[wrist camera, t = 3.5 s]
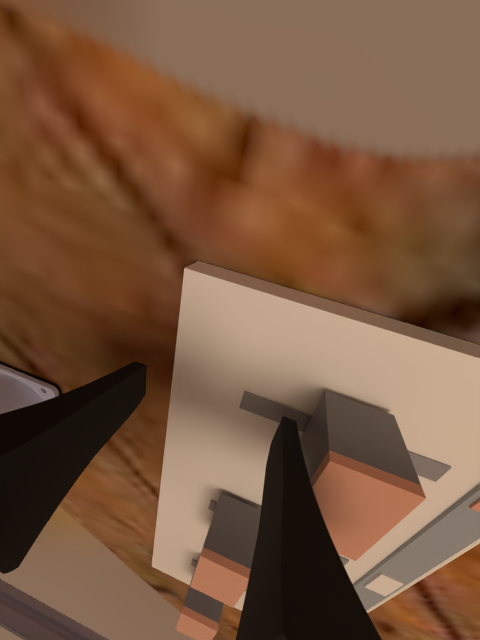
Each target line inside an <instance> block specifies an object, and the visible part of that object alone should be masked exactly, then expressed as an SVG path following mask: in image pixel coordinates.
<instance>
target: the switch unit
mask: <svg viewBox="0 0 480 640" xmlns="http://www.w3.org/2000/svg"><path fill="white" fill-rule="evenodd" d="M325 391H327V392H330V393H332V394H335V395H338V396H341V397H344V398H347V399H349V400H352V401H355V402H358V403H361V404H364V405H367V406H369V407H372V408H375V409H378V410H381V411H384V412H387V413H389V414H392V415H394V416H395V419H396V421H397V424H398V427H399V429H400V432H401V434H402V437H403V439H404V442H405V445H406V447H407V450H408V452H409V455H410V458H411V460H412V463H413V465H414V468H415V471H416V473H417V476H418V478H419V481H420V483H421V486H422V489H423V491H424V494H425V496H426V499H425V500H424V501H423V502H422V503H421V504H419V505H418V506H417V507H416V508H415V509H414V510H413V511H412V512H410V513H409V514H408V515H407V516H406V517H405V518H404V519H402V520H401V521H400V522H399V523H398V524H397V525H396V526H395V527H393V528H392V529H391V530H390V531H389V532H388V533H387V534H386V535H384V536H383V537H382V538H381V539H380V540H379V541H378V542H377V543H375V544H374V545H373V546H372V547H371V548H370V549H369V550H368V551H366V552H365V553H364V554H363V555H362V556H361V557H360V558H359V559H357V560H356V561H354V560H352V559H350V558H347V557H345V556H343V555H340V554H339V556H340V558H341V561H342V563H343V565H344V567H345V569H346V571H347V574H348V576H349V578H350V580H351V582H352V584H353V586H354V588H355V590H356V592H357V594H358V596H359V598H360V600H361V602H362V604H363V606H364V608H365V610H366V612H367V613H369V612H370V611H372V610H373V609H375V608H377V607H378V606H380V605H381V604H383V603H385V602H386V601H388V600H389V599H391V598H393V597H394V596H396V595H397V594H399V593H401V592H402V591H404V590H405V589H407V588H409V587H410V586H412V585H413V584H415V583H417V582H418V581H420V580H421V579H423V578H425V577H426V576H428V575H429V574H431V573H433V572H434V571H436V570H437V569H439V568H441V567H442V566H444V565H445V564H447V563H449V562H450V561H452V560H453V559H455V558H457V557H458V556H460V555H462V554H463V553H465V552H466V551H468V550H470V549H471V548H473V547H474V546H476V545H478V544H479V543H480V345H478V344H475V343H471V342H468V341H465V340H461V339H458V338H455V337H451V336H448V335H445V334H441V333H438V332H435V331H431V330H428V329H425V328H421V327H418V326H415V325H411V324H408V323H404V322H401V321H398V320H394V319H391V318H388V317H384V316H381V315H378V314H374V313H371V312H368V311H364V310H361V309H358V308H354V307H351V306H348V305H344V304H341V303H338V302H334V301H331V300H328V299H324V298H321V297H318V296H314V295H311V294H308V293H304V292H301V291H298V290H294V289H291V288H288V287H284V286H281V285H278V284H274V283H271V282H268V281H264V280H261V279H258V278H254V277H251V276H248V275H244V274H241V273H238V272H234V271H231V270H227V269H224V268H221V267H217V266H214V265H211V264H207V263H204V262H201V261H197V262H195V263H193V264H192V265H190V266H188V267H186V268H184V277H183V286H182V295H181V305H180V314H179V323H178V332H177V341H176V350H175V359H174V368H173V377H172V386H171V395H170V405H169V414H168V423H167V432H166V441H165V450H164V459H163V468H162V477H161V486H160V495H159V504H158V514H157V523H156V532H155V541H154V550H153V559H152V567H154V568H156V569H158V570H160V571H162V572H164V573H166V574H168V575H170V576H172V577H174V578H176V579H178V580H180V581H182V582H184V583H186V584H188V585H190V582H191V579H192V576H193V573H194V570H195V567H196V564H197V561H198V558H199V557H200V554H201V551H202V548H203V544H204V541H205V538H206V535H207V532H208V529H209V526H210V523H211V520H212V517H213V514H214V511H215V508H216V505H217V502H218V499H219V496H220V493H223V494H225V495H227V496H230V497H232V498H234V499H237V500H239V501H241V502H244V503H246V504H248V505H250V506H253V507H255V508H257V509H260V510H261V505H262V496H263V487H264V478H265V470H266V463H267V459H268V454H269V449H270V445H271V442H272V440H273V437H274V435H275V433H276V430H277V428H278V426H279V424H280V421H281V419H282V417H283V416H284V417H287V418H290V419H292V420H295V421H296V422H297V427H298V433H299V438H301V436H302V434H303V432H304V430H305V428H306V427H307V425H308V423H309V421H310V419H311V417H312V415H313V413H314V411H315V409H316V408H317V406H318V404H319V402H320V400H321V398H322V396H323V394H324V392H325ZM246 590H247V588H246ZM246 590H245V591H244V593H243V594H242V596H241V597H240V599H239V600H238V602H237V603H236V605H235V606H234V607H235V608H237V609H239V610H241V611H242V609H243V604H244V599H245V595H246Z"/></svg>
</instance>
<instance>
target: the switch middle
mask: <svg viewBox="0 0 480 640" xmlns="http://www.w3.org/2000/svg"><path fill="white" fill-rule="evenodd" d="M260 513H261V510H260V509H257V508H255V507H253V506H250V505H248V504H246V503H244V502H241V501H239V500H237V499H234V498H232V497H230V496H227V495H225V494H223V493H220V496H219V499H218V502H217V505H216V508H215V511H214V514H213V517H212V520H211V523H210V526H209V529H208V532H207V535H206V538H205V541H204V544H203V548H202V551H201V554H200V557H199V560H198V563H197V566H196V570H195V573H194V576H193V579H192V582H191V585H190V587H192V588H194V589H196V590H198V591H200V592H202V593H204V594H206V595H208V596H210V597H212V598H214V599H216V600H218V601H220V602H222V603H224V604H226V605H228V606H230V607H232V608H234V606H235V605H236V603H237V602H238V600H239V599H240V597H241V596H242V594H243V593H244V591H245V590H246V588H247V585H248V580H249V575H250V570H251V565H252V560H253V555H254V550H255V545H256V540H257V535H258V529H259V522H260Z"/></svg>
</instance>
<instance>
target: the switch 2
mask: <svg viewBox="0 0 480 640" xmlns="http://www.w3.org/2000/svg"><path fill="white" fill-rule="evenodd" d="M300 443H301V447H302V452H303V456H304V460H305V464H306V467H307V471H308V474H309V478H310V481H311V484H312V487H313V491H314V494H315V497H316V500H317V502H318V505H319V508H320V511H321V513H322V516H323V519H324V521H325V524H326V526H327V529H328V531H329V534H330V536H331V538H332V541H333V543H334V545H335V548H336V550H337V552H338V554H340V555H343V556H345V557H347V558H350V559H352V560H354V561H356V560H357V559H359V558H360V557H361V556H362V555H363V554H364V553H365V552H366V551H368V550H369V549H370V548H371V547H372V546H373V545H374V544H375V543H377V542H378V541H379V540H380V539H381V538H382V537H383V536H384V535H386V534H387V533H388V532H389V531H390V530H391V529H392V528H393V527H395V526H396V525H397V524H398V523H399V522H400V521H401V520H402V519H404V518H405V517H406V516H407V515H408V514H409V513H410V512H412V511H413V510H414V509H415V508H416V507H417V506H418V505H419V504H421V503H422V502H423V501H424V500H425V499H426V496H425V494H424V491H423V489H422V486H421V483H420V481H419V478H418V476H417V473H416V471H415V468H414V465H413V463H412V460H411V458H410V455H409V452H408V450H407V447H406V445H405V442H404V439H403V437H402V434H401V432H400V429H399V427H398V424H397V421H396V419H395V416H394V415H392V414H389V413H387V412H384V411H381V410H378V409H375V408H372V407H369V406H367V405H364V404H361V403H358V402H355V401H352V400H349V399H347V398H344V397H341V396H338V395H335V394H332V393H330V392H327V391H325V392H324V394H323V396H322V398H321V400H320V402H319V404H318V406H317V408H316V409H315V411H314V413H313V415H312V417H311V419H310V421H309V423H308V425H307V427H306V428H305V430H304V432H303V434H302V436H301V438H300Z"/></svg>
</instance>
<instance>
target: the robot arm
mask: <svg viewBox="0 0 480 640" xmlns="http://www.w3.org/2000/svg"><path fill="white" fill-rule="evenodd" d="M146 366H147V365H144V364H142V363H139V362H133V363H131V364H129V365H127V366H125V367H123V368H121V369H119V370H117V371H114V372H112V373H110V374H108V375H106V376H104V377H102V378H100V379H97V380H95V381H93V382H91V383H89V384H86V385H84V386H82V387H79V388H77V389H74V390H72V391H70V392H67V393H65V394H62V395H59V391H58V389H57V388H56V387H55V386H53V385H50V384H48V383H46V382H43V381H41V380H38V379H36V378H33V377H31V376H28V375H26V374H24V373H21V372H19V371H16V370H14V369H11V368H9V367H6V366H4V365H1V364H0V572H1V573H3V574H5V573H8V572H11V571H13V570H15V569H16V568H18V567H19V565H20V564H21V562H22V561H23V559H24V557H25V556H26V554H27V553H28V551H29V550H30V548H31V546H32V545H33V543H34V542H35V540H36V538H37V537H38V535H39V534H40V532H41V531H42V529H43V528H44V526H45V525H46V523H47V522H48V520H49V519H50V517H51V516H52V514H53V513H54V511H55V510H56V509H57V507H58V506H59V504H60V503H61V501H62V500H63V498H64V497H65V496H66V494H67V493H68V491H69V490H70V489H71V487H72V486H73V484H74V483H75V482H76V480H77V479H78V477H79V476H80V475H81V473H82V472H83V471H84V469H85V468H86V467H87V465H88V464H89V463H90V461H91V460H92V459H93V457H94V456H95V455H96V454H97V453H98V451H99V450H100V449H101V448H102V447H103V446H104V445H105V443H106V442H107V441H108V440H109V439H110V438H111V437H112V436H113V434H114V433H115V432H116V431H117V430H118V429H119V428H120V427H121V425H122V424H123V423H124V422H125V421H126V420H127V419H128V417H129V416H130V415H131V414H132V413H133V412H134V410H135V409H136V407H137V406H138V405H139V403H140V402H141V400H142V399H143V397H144V396H145V392H146ZM0 626H1V627H3V628H5V629H6V630H8V631H10V632H12V633H13V634H15V635H16V636H18V637H20V638H21V639H24V640H109V639H107V638H106V637H104V636H102V635H100V634H98V633H96V632H95V631H93V630H91V629H89V628H88V627H86V626H84V625H82V624H80V623H78V622H77V621H75V620H73V619H71V618H69V617H68V616H66V615H64V614H62V613H60V612H58V611H57V610H55V609H53V608H51V607H50V606H47V605H46V604H44V603H42V602H41V601H39V600H37V599H35V598H33V597H32V596H30V595H28V594H26V593H24V592H22V591H21V590H19V589H17V588H15V587H14V586H12V585H10V584H8V583H6V582H5V581H3V580H1V579H0ZM236 640H382V639H381V638H380V636H379V634H378V632H377V630H376V628H375V627H374V625H373V623H372V621H371V619H370V617H369V615H368V613H367V612H366V610H365V608H364V606H363V604H362V602H361V600H360V598H359V596H358V594H357V592H356V590H355V588H354V586H353V584H352V582H351V580H350V578H349V576H348V574H347V571H346V569H345V567H344V565H343V563H342V561H341V558H340V556H339V554H338V552H337V550H336V548H335V545H334V543H333V541H332V538H331V536H330V534H329V531H328V529H327V526H326V524H325V521H324V519H323V516H322V513H321V511H320V508H319V505H318V502H317V500H316V497H315V494H314V491H313V487H312V484H311V481H310V478H309V474H308V471H307V467H306V464H305V460H304V456H303V452H302V447H301V443H300V438H299V433H298V427H297V422H296V421H295V420H292V419H290V418H287V417H284V416H283V417H282V419H281V421H280V424H279V426H278V428H277V430H276V433H275V435H274V437H273V440H272V442H271V445H270V449H269V454H268V459H267V463H266V470H265V478H264V487H263V496H262V505H261V513H260V522H259V529H258V535H257V540H256V545H255V550H254V555H253V560H252V565H251V570H250V575H249V580H248V585H247V590H246V595H245V599H244V604H243V609H242V614H241V618H240V623H239V628H238V632H237V637H236Z"/></svg>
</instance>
